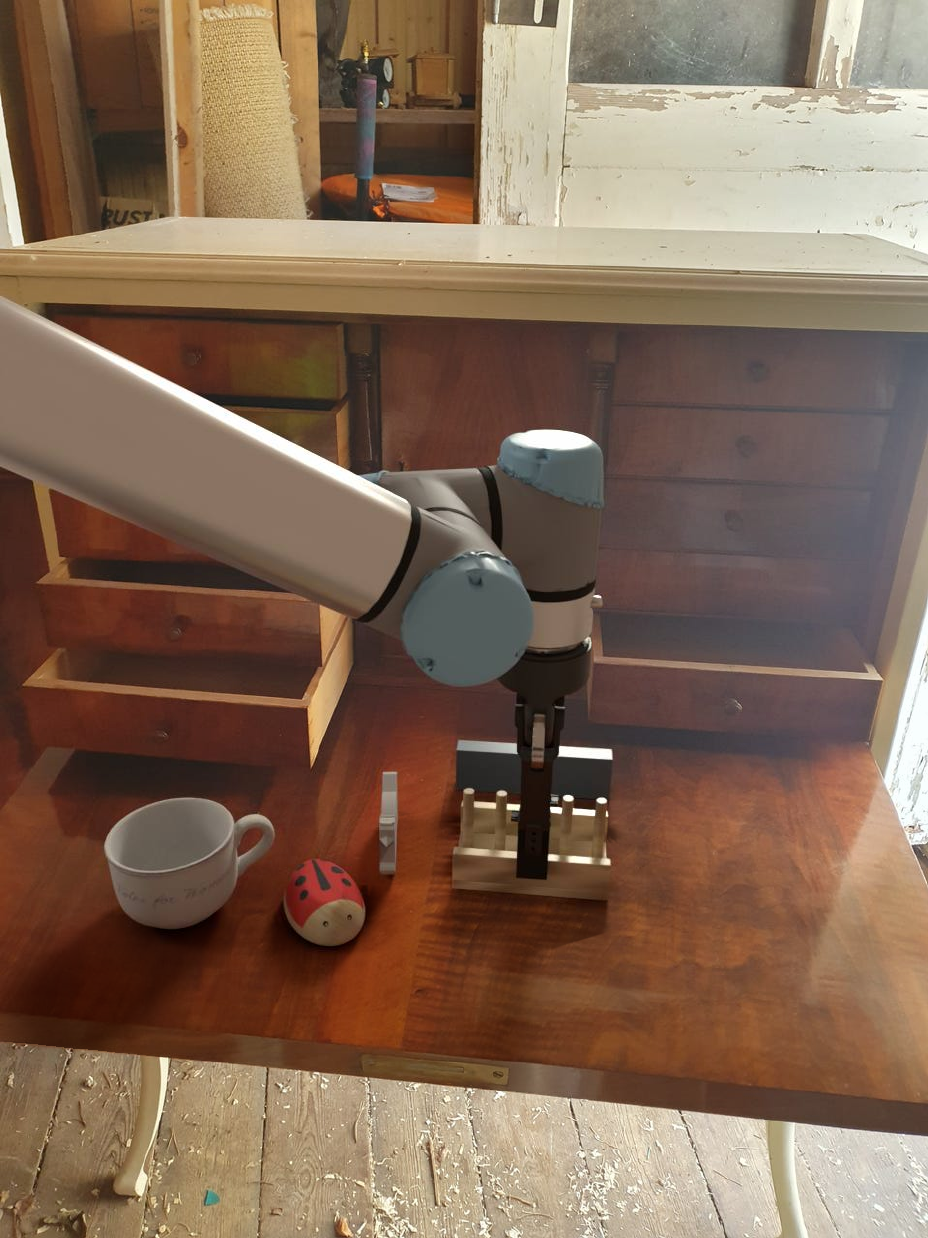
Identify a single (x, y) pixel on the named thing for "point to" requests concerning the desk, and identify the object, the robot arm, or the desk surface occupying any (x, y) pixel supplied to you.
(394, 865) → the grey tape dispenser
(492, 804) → the rack
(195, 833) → the teacup
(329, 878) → the ladybug figurine
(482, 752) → the back rail
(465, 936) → the desk surface
